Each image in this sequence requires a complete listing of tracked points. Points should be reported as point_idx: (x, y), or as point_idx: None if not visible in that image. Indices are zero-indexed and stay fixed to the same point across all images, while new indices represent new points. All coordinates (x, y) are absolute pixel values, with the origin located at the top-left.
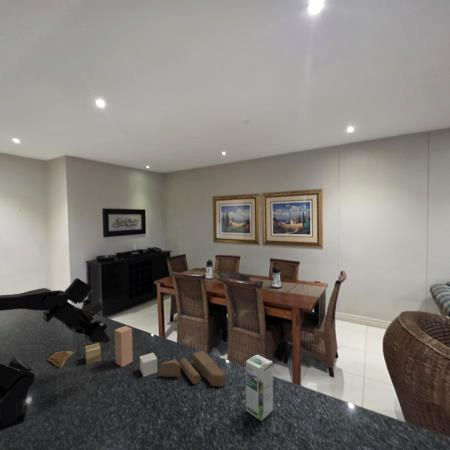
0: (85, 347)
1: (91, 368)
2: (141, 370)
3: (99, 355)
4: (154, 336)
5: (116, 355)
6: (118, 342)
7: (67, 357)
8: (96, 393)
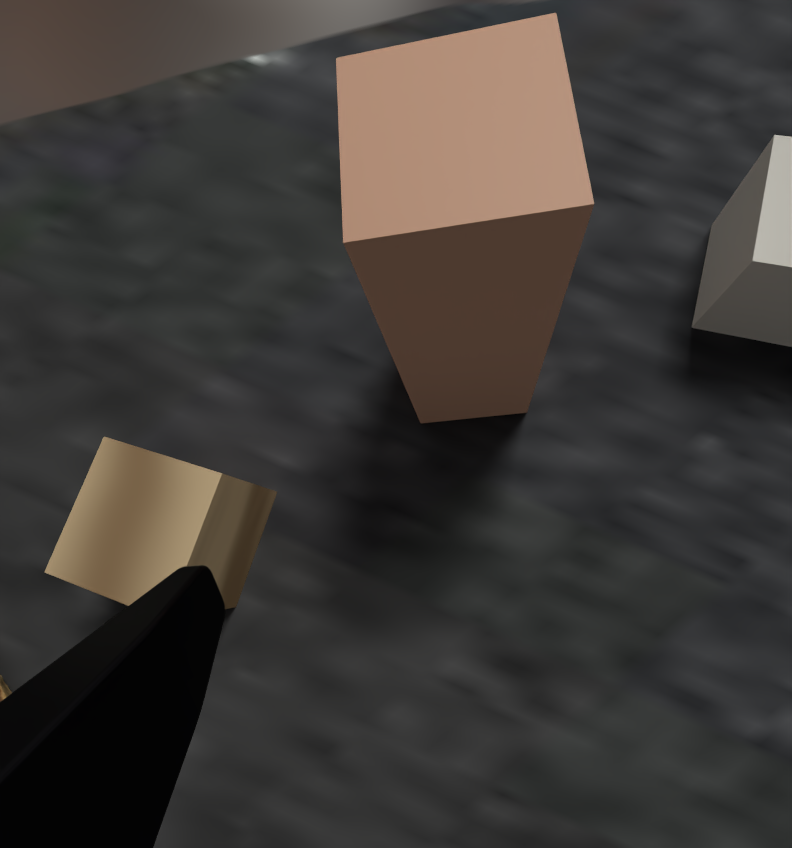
0: (67, 580)
1: (334, 604)
2: (760, 330)
3: (252, 495)
4: (292, 50)
5: (432, 398)
6: (476, 326)
7: (2, 698)
8: (781, 757)
